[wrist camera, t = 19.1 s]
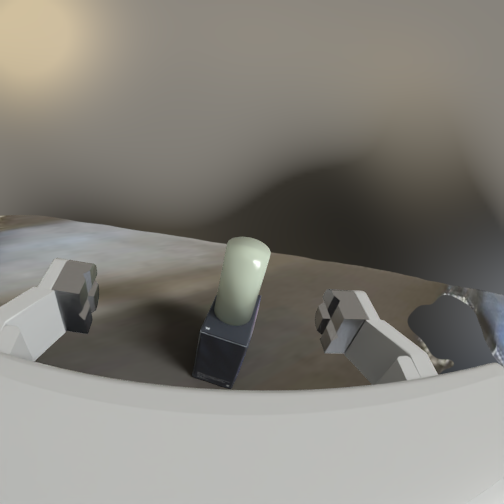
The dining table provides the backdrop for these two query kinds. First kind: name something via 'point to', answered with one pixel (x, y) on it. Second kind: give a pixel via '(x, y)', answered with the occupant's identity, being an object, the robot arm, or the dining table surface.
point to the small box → (222, 348)
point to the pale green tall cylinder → (241, 280)
